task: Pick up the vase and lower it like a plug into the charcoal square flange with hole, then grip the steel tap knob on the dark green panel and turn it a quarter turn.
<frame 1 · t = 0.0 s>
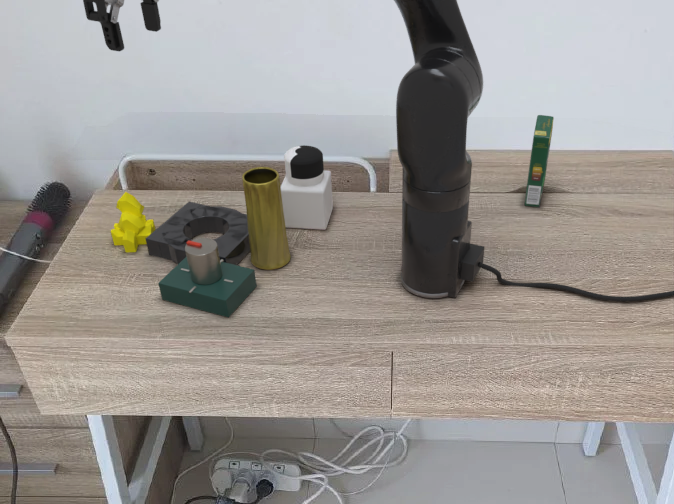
hand: (135, 39, 109), 29 cm above the table, tool pointing down, fingers open, 8 cm apart
square flange with hole: (209, 244, 123), on the table
coffee box: (534, 197, 135), on the table
medicine bottle: (308, 219, 129), on the table
tap knob: (203, 260, 110), point 6 cm above the table, hinge at 0.0°
yellow faceted cluster: (135, 239, 124), on the table
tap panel: (210, 293, 113), on the table
vase: (270, 260, 120), on the table
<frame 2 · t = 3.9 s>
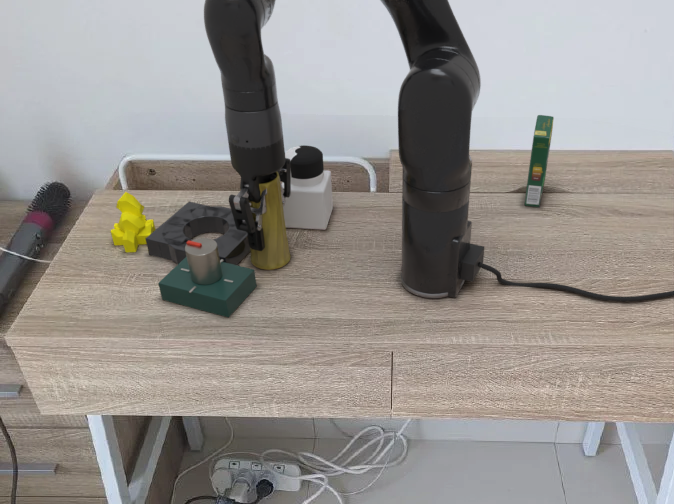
hand: (267, 237, 118), 4 cm above the table, tool pointing down, fingers closed on vase, 5 cm apart
vase: (270, 260, 120), on the table, touching gripper
everything else where it was.
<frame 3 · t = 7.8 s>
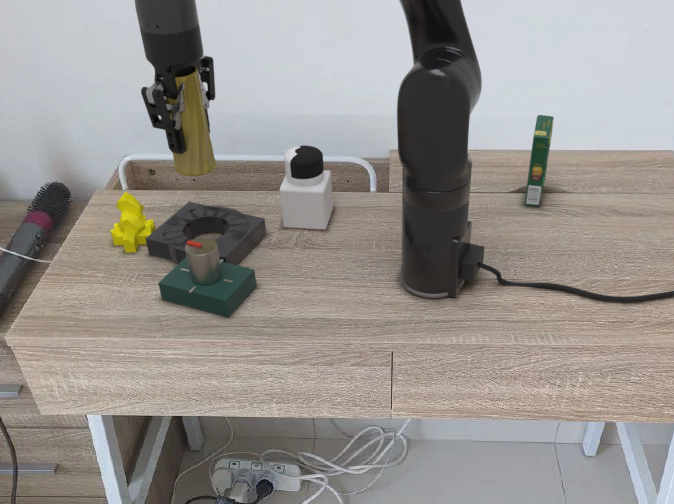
hand: (191, 142, 112), 17 cm above the table, tool pointing down, fingers closed on vase, 5 cm apart
vase: (195, 168, 114), point 13 cm above the table, touching gripper
everything else where it was.
when the fingers open (4 cm above the table, at t = 11.8 s): vase stays where it is, resting in square flange with hole.
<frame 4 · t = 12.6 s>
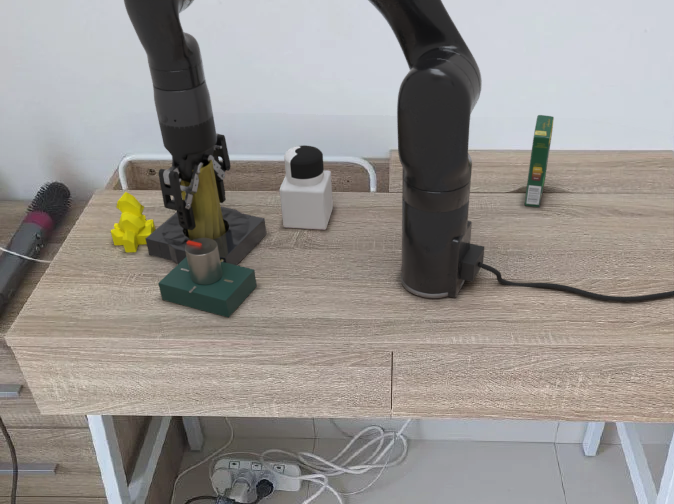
hand: (204, 214, 119), 5 cm above the table, tool pointing down, fingers open, 8 cm apart
vase: (209, 245, 123), resting in square flange with hole
everything else where it was.
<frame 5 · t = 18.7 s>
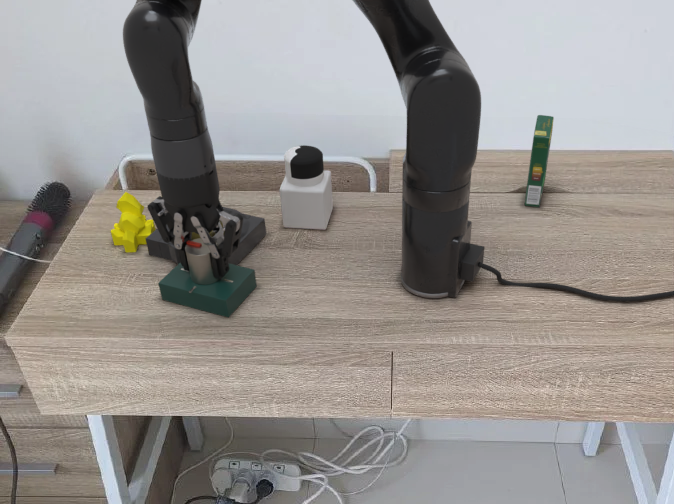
hand: (206, 271, 111), 4 cm above the table, tool pointing down, fingers closed on tap knob, 4 cm apart
tap knob: (203, 260, 110), point 6 cm above the table, hinge at 0.1°, touching gripper
everything else where it was.
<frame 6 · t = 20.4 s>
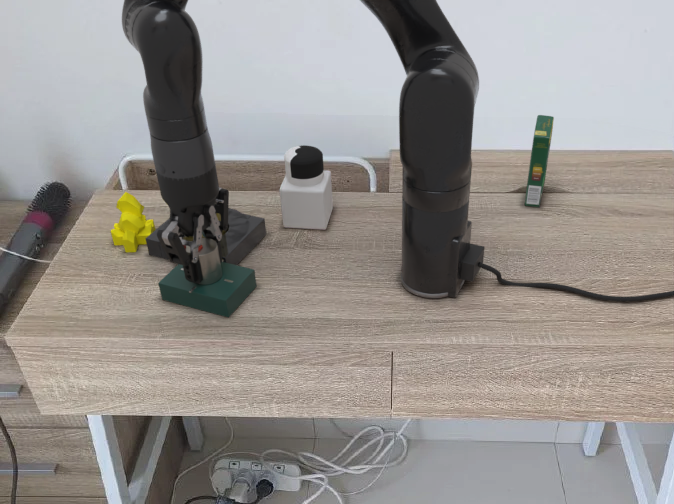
hand: (205, 271, 111), 4 cm above the table, tool pointing down, fingers closed on tap knob, 4 cm apart
tap knob: (203, 260, 110), point 6 cm above the table, hinge at 92.5°, touching gripper
everything else where it was.
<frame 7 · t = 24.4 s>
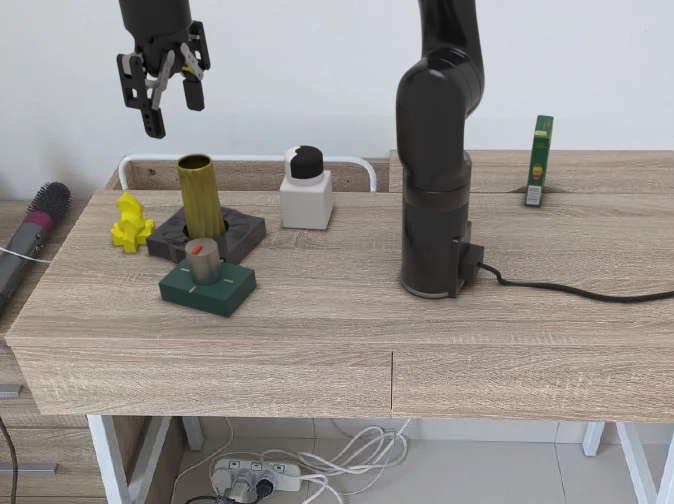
hand: (177, 122, 96), 26 cm above the table, tool pointing down, fingers open, 8 cm apart
tap knob: (203, 260, 110), point 6 cm above the table, hinge at 91.7°
everything else where it was.
at the end: vase 0.0 cm off-centre in the square flange with hole, point 0.0 cm above the square flange with hole's base; vase tilted 0°; tap knob at +92° (first picture: +0°) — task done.
